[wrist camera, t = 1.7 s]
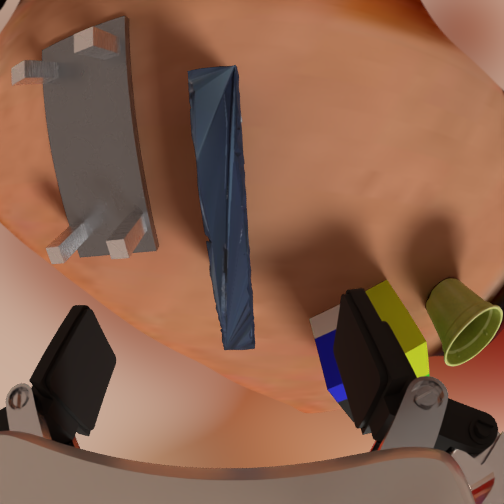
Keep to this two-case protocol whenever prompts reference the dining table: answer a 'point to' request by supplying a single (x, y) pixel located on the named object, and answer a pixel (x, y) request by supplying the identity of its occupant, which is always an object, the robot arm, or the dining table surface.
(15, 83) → the rack
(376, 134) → the dining table surface
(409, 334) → the puzzle toy
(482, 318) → the plant pot
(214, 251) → the vhs cassette tape
